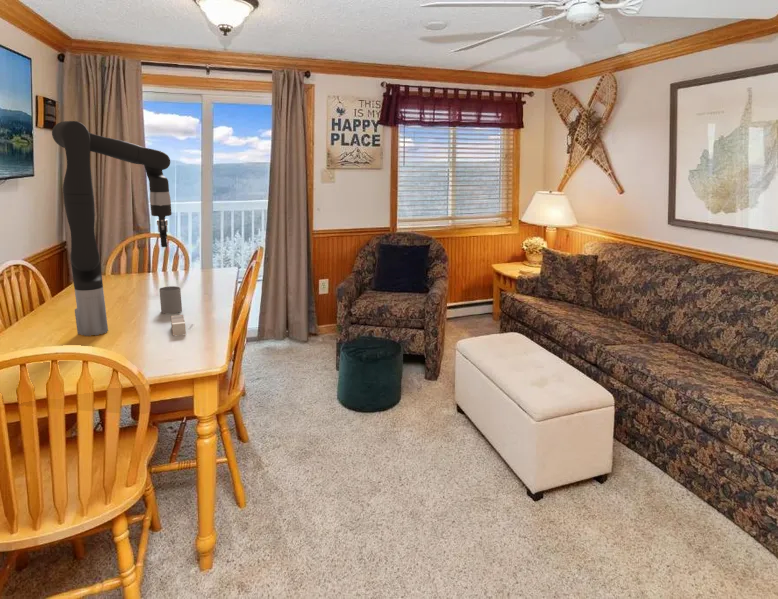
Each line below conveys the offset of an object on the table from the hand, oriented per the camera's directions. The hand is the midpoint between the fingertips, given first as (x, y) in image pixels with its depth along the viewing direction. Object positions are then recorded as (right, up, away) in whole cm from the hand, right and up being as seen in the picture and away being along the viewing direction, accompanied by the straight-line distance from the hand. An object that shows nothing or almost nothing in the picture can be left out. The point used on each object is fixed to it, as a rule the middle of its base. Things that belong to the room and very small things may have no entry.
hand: (164, 246), depth 218 cm
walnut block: (+8, -30, -7) cm, 31 cm away
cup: (-3, -26, +14) cm, 30 cm away
